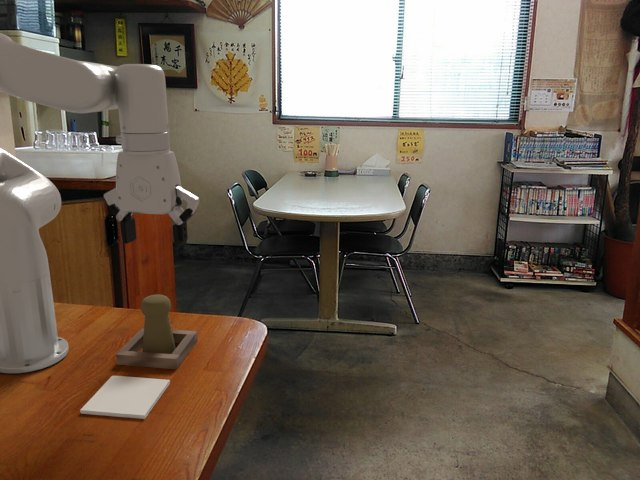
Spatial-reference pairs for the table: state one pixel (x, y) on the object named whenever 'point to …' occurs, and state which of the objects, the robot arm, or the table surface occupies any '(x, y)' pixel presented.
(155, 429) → the table surface
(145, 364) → the holder
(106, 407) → the coaster
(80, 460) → the table surface
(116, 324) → the table surface
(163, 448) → the table surface
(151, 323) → the cork
